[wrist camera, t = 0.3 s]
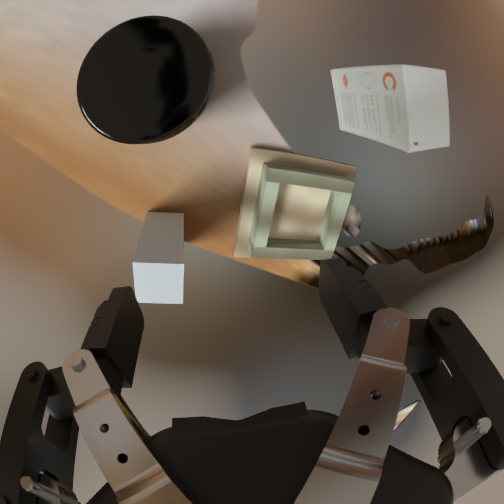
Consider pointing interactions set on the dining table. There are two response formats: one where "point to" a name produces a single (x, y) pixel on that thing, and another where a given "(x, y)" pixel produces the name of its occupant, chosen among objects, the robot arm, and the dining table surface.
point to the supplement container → (145, 80)
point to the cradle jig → (292, 205)
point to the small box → (394, 105)
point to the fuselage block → (160, 259)
